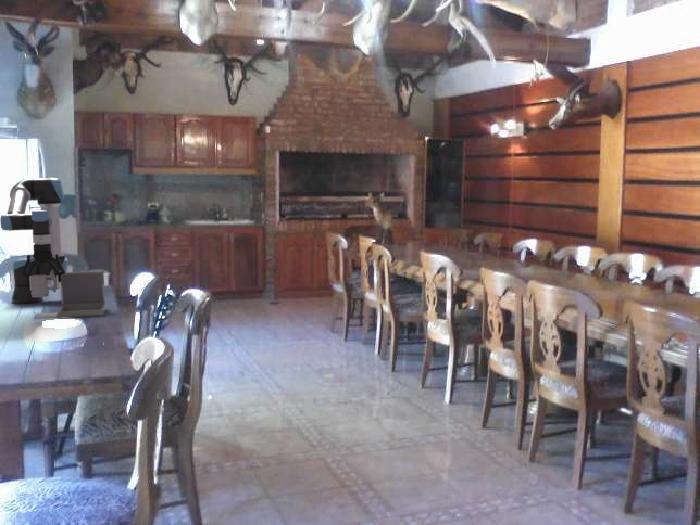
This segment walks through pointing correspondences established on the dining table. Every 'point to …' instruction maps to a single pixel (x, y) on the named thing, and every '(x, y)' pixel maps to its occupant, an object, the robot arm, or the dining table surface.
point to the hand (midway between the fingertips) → (44, 289)
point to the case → (82, 294)
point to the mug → (42, 285)
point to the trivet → (45, 315)
